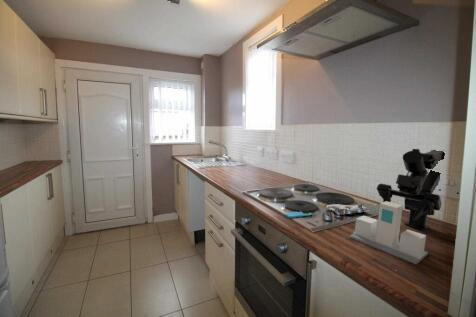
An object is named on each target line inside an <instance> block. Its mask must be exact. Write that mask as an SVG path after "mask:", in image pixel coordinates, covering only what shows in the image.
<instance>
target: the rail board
mask: <svg viewBox="0 0 476 317" xmlns="http://www.w3.org/2000/svg"><path fill="white" fill-rule="evenodd" d="M377 225H378V219H375V218H373V217H370V216H366V215H362V216H359V217H357V218H355V228H354V232H353V233H352V234H350V235H349V238H350V239H352V240H355V241H358V242H360V243H363V244H365V245H367V246H369V247H372V248H375V249H376V250H379V251H382V252H385V253H387V254H390V255H391V256H394V257H397V258H398V259H402V260H404V261H406V262H409V263H412V264H415V265H417V264H418V263H420V262H421V261H422V260H423V259H424V258H426V257H427V255H428V254H429V251H426V250H425V246H426V240H427V235H426V234H423V233H419V232H418V231H417V232H416V231H413V230H410V229H406V230H404V231H402V232H400V237H399V238H400V239H399V240H398V243H397V244H396V245H394V246H393V247H391V246H388V245H386V244H383V243H380V242H378V241H376V234H377Z"/></svg>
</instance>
